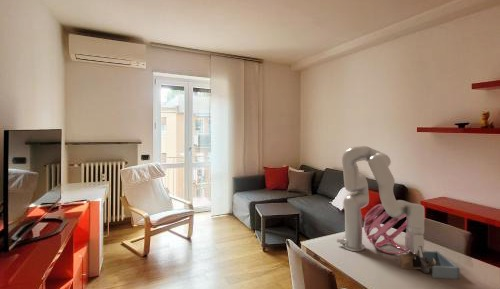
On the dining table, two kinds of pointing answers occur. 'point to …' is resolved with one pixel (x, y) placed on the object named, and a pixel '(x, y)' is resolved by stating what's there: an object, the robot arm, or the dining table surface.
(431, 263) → the eagle figurine
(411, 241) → the robot arm
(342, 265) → the dining table surface
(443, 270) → the box
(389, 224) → the spiral basket
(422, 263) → the brown grey block
